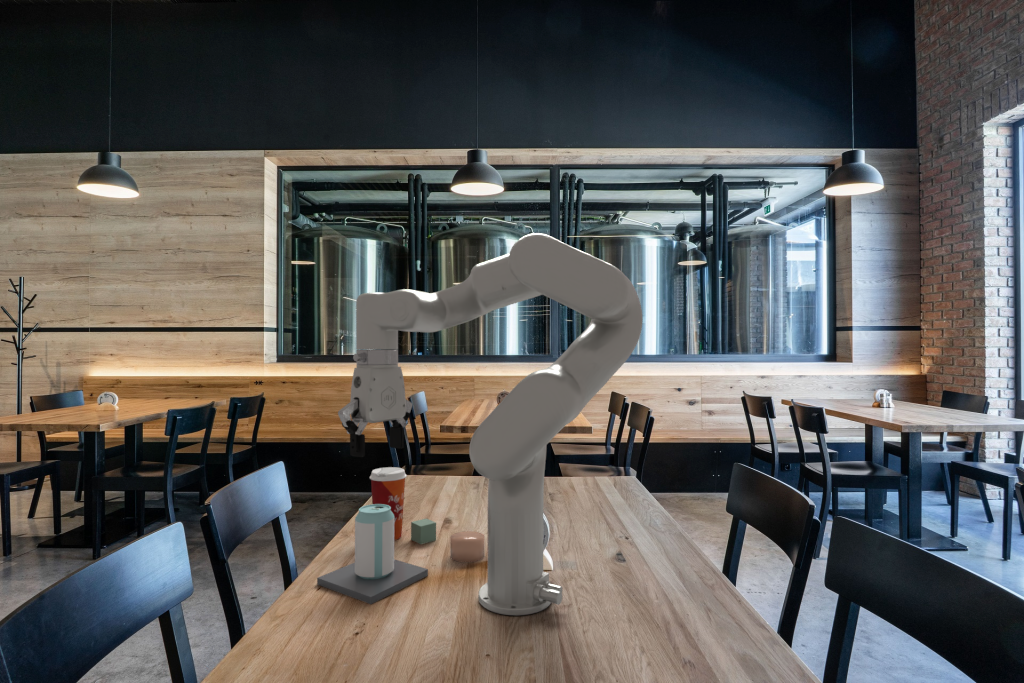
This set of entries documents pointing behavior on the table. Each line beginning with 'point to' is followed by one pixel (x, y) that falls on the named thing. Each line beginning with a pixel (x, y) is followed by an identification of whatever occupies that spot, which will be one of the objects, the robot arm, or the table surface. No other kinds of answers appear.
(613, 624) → the table surface
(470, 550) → the peach smooth rounded part
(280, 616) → the table surface
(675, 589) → the table surface
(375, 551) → the can
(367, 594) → the slate board
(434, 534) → the green block
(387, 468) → the coffee cup
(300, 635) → the table surface
